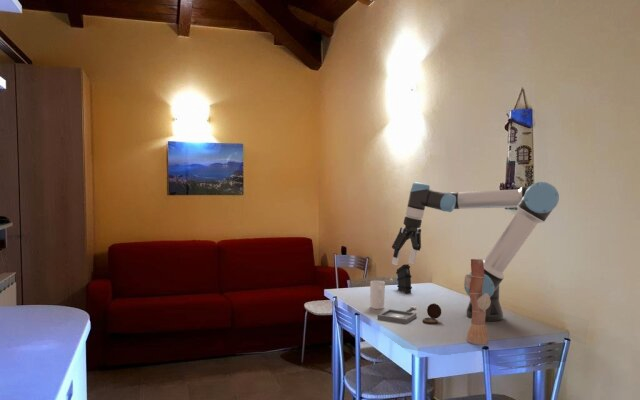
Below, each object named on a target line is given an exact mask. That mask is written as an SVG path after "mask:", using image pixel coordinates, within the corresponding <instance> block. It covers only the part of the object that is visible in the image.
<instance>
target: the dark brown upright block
mask: <svg viewBox="0 0 640 400" xmlns="http://www.w3.org/2000/svg"><path fill="white" fill-rule="evenodd" d="M409 264H410V263H408V264H402V265H401V266H400V267H398V268H397V269H396V272H395V274H396V276H397V279H396V281H397V285H396V286H397V290H398V291H400V292H402V291H403V293H404V292H405V293H404V294H411V293H412V289H413V286H412V279H411V278H412V275H411V271H410V269H411V266H410V265H409Z"/></svg>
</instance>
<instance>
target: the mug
mask: <svg viewBox="0 0 640 400" xmlns="http://www.w3.org/2000/svg"><path fill="white" fill-rule="evenodd" d="M385 289H386V281H384V280H371V281H370V288H369V292H370V296H369V297H370V304H369V305H370V308H371V309H376V310H382V309H384V308H385V291H386V290H385Z"/></svg>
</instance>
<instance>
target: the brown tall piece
mask: <svg viewBox="0 0 640 400" xmlns="http://www.w3.org/2000/svg"><path fill="white" fill-rule="evenodd" d="M483 260H484V259H481V258H480V259H479V258H476V259H475V258H471V259H470V271H471V272H470V273H471V276H470V275H469V273H468V274H466V275H465V276H464V281H463V282H465V286H466V288H468V289H469V295H468V296H469V301H470V300H471V304H472V318H471V323H470V325H469V329H468V331H467V334H466V341H467V343H469V344H473V345H478V346H485V345H488V343H489V335H488V331H487V327H486V321H485V317H486V309H488V308H489V307H490V304H491V300H490V297H489V295H488V294H487V293H485V294H483V295H482V287H483V280H484V264H483V263H484V261H483Z"/></svg>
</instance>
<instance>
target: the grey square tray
mask: <svg viewBox="0 0 640 400" xmlns="http://www.w3.org/2000/svg"><path fill="white" fill-rule="evenodd" d="M406 311H407V310H397V309H391V308H389V309H387V310H385V311H383V312H381V313H379V314H377V320H381V321H385V322H387V321H388V322H393V323H398V322H399V323H400V324H405V325H406V324H408V323H410V322H411V321H413V320H414V319H416V318H417V314H418V313H417V312H411V311H409V312H406ZM399 323H398V324H399Z"/></svg>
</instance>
